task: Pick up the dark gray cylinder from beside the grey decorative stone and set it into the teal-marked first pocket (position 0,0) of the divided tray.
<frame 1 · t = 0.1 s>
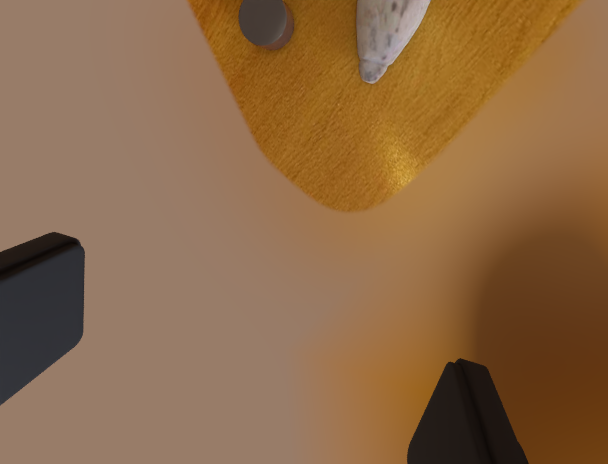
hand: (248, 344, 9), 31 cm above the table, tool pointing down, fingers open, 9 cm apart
dark gray cylinder: (271, 24, 35), on the table
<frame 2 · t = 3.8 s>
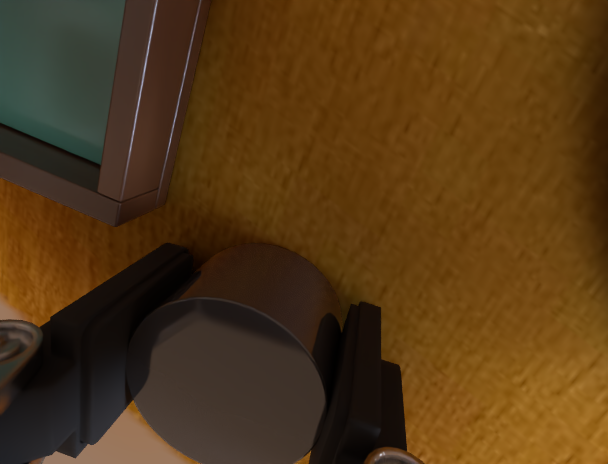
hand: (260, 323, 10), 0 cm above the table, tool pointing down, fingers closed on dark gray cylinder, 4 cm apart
dark gray cylinder: (263, 316, 10), on the table, touching gripper
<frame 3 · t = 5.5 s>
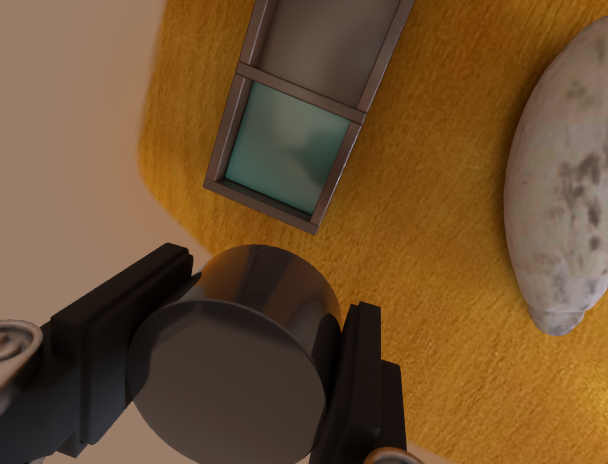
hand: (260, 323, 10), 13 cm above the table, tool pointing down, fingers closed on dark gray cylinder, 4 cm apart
divided tray: (328, 33, 19), on the table
dark gray cylinder: (264, 317, 10), point 13 cm above the table, touching gripper
decorative stone: (555, 187, 20), on the table
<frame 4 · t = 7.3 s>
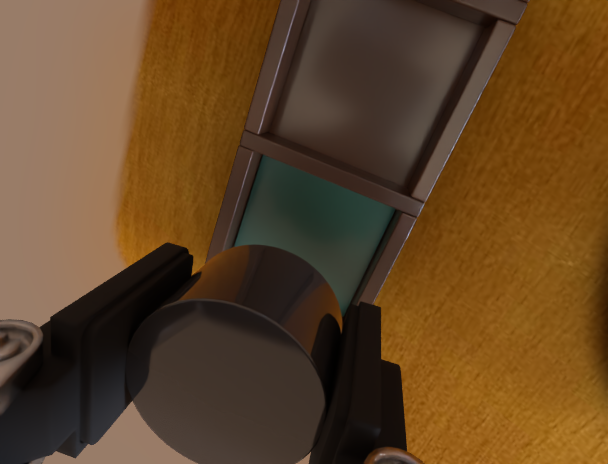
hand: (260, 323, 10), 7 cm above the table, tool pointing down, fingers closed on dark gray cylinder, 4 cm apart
divided tray: (367, 85, 14), on the table
dark gray cylinder: (263, 317, 10), point 7 cm above the table, touching gripper
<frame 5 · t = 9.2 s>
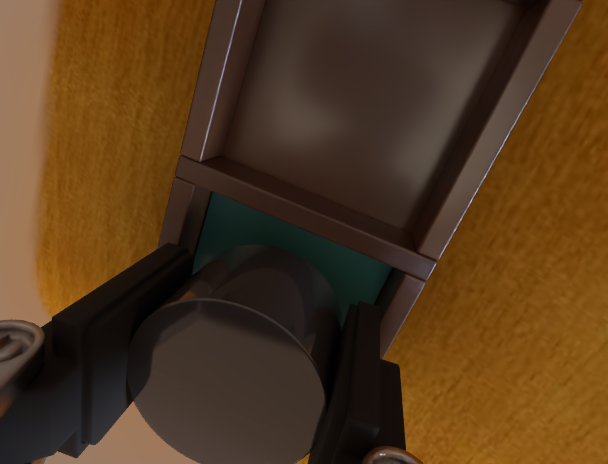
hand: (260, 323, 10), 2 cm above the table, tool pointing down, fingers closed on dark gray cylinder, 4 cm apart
divided tray: (356, 92, 10), on the table
dark gray cylinder: (263, 317, 10), point 2 cm above the table, touching gripper
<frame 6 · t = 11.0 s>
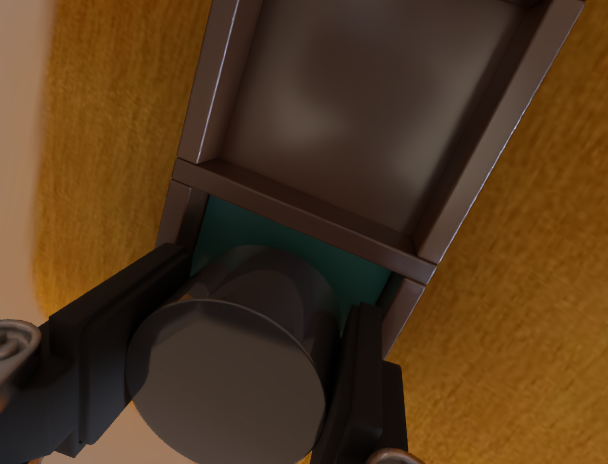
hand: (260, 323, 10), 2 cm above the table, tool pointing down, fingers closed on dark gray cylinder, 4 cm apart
divided tray: (355, 94, 10), on the table
dark gray cylinder: (263, 317, 10), point 2 cm above the table, touching gripper
when the fingers open (2 cm above the table, at t = 11.0 s): dark gray cylinder drops 1 cm, resting on divided tray.
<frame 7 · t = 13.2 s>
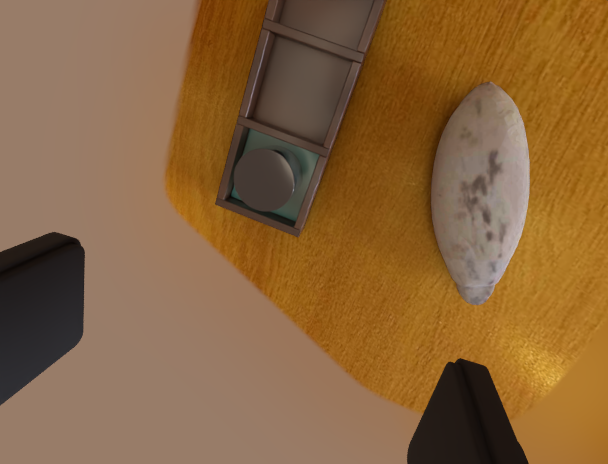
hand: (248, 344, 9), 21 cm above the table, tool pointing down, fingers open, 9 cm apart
divided tray: (302, 92, 27), on the table
dark gray cylinder: (274, 174, 29), point 1 cm above the table, touching divided tray
decorative stone: (470, 196, 27), on the table
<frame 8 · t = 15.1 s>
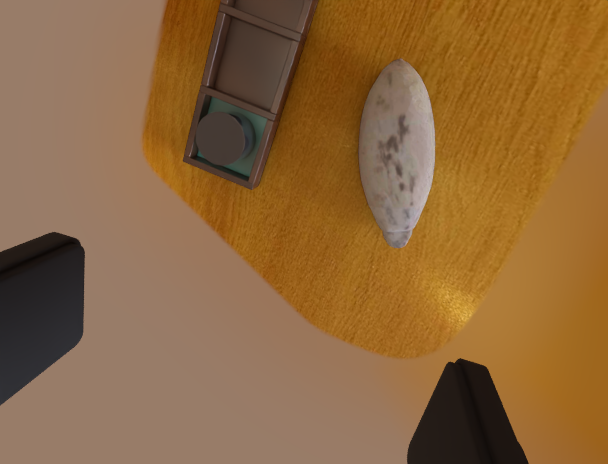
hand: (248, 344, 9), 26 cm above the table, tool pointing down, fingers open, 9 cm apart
divided tray: (255, 66, 32), on the table
dark gray cylinder: (233, 136, 34), point 1 cm above the table, touching divided tray
decorative stone: (394, 157, 33), on the table
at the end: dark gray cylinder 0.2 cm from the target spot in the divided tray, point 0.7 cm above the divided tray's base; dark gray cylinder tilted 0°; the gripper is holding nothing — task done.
